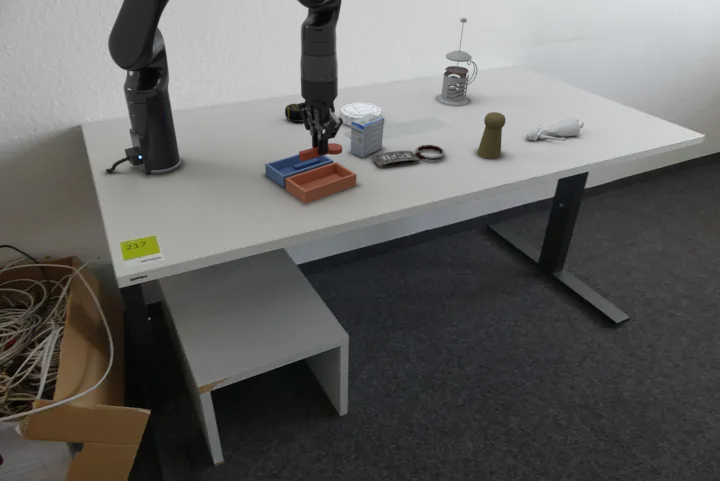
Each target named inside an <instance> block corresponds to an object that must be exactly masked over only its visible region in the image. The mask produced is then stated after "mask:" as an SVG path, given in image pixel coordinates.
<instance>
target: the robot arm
mask: <svg viewBox="0 0 720 481" xmlns="http://www.w3.org/2000/svg"><path fill="white" fill-rule="evenodd" d="M296 1H297V3H299V4H301V5H302V6H303V7H305V8H307V16H306V17H305V19H304V20H303V22H302V23H301V24H300V25H301V26H300V62H299V63H300V64H299V66H300V69H299V71H300V95H301V98H302V99H304V101H303V102H299V103H297V104H298V108H299V111H300V114H301V117H302V119H303V121H302V123H303V125H304V128H305V130H306V131H309V134H310V136H311V148H314V147H318V154H319V155H320V156H322V155H325V154H327V153H328V144H329V140H331V139H335V138H336V137H337V135H338V132H339V131H340V129H341V126H342V124H344V123H343V120H342V118H340V117H337V115H336V114H335V112H336V108H335V104H334V102H335V100H336V99H337V97H339V64H338V63H339V62H338V51H337V50H338V38H337V37H338V34H337V33H338V32H337V30H338V28H337V27H338V23H339V20H340V13H341V9H342V8H341V6H342V1H343V0H296ZM168 3H170V0H123V1H122V4H121V7H120V9H119V11H118V14H117V16H116V18H115V21H114V23H113V26H112V28H111V30H110V33H109V36H108V40H107V47H108V53H109V54H110V57H111V59H112V61H113V62H114V64H115V65H116V66H117V67H119V68H120V69H122V70H124V71H126V77H125V80H124V83H123V93H124V100H125V103H126V107H127V108H126V109H127V113H128V117H129V122H130V126H131V128H129V135H130V141H131V144H132V147H128V148H124V153H125V157H123V158H122V159H119V160H117V161H115V162H114V163H113V164H112V166H111V168H106V169H105V172H106V173H112V172H114V171H115V170H116V168H117V167H118V166H119V165H120V164H123V163H125V162H129V163H130V164H131V165H132V166H133V167H137V168H138V169H139V170H140V172H142V173H143V174H144V175H145V176H150V175H165V174H169V173H172V172H175V171H176V170H178V169H179V168H180V167H181V165H182V162H181V157H180V152H179V146H178V141H177V135H176V129H175V122H174V116H173V111H172V110H173V109H172V105H171V98H170V93H169V92H170V91H169V83H170V71H169V63H168V56H167V47H166V43H165V39H164V35H163V33H162V32H161V30H160V28H159V23H160V21H161V18H162V15H163V14H164V13H163V12H164V11H165V9H166V7H167V5H168ZM306 112H307V113H306ZM307 118H308V120H307ZM327 155H328V154H327ZM325 156H326V155H325Z"/></svg>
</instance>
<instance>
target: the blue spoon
mask: <svg viewBox="0 0 720 481" xmlns="http://www.w3.org/2000/svg"><path fill="white" fill-rule="evenodd" d="M316 164H320V160H319V159H318V158H314V159H311V160H308V161H305V162H302V163H299V164H296V165H293V168H291V167H286V168H282V169H281V170H280V173H282V174H283V175H285V174H288V173H291V172H295V171H298V170H301V169H304V168H307V167H310V166H313V165H316Z"/></svg>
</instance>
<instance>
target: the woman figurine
mask: <svg viewBox="0 0 720 481" xmlns="http://www.w3.org/2000/svg"><path fill="white" fill-rule="evenodd" d="M584 124H585V123H584V122H583V121H581V124H580V123H579V119H578V118H577V119H575V118H573V117H568V118H566V119H564V120H563V119H562V120H561V121H559V122H556V123H554V124H553V125H551V126H548V127H547V128H544V127H541V125H542V123H541V122H540V123H538V126H537V128H536V130H533V131H532V130H530V131H529V132H527V133H526V135H525V137H526V140H528V141H531V142H534V141H537V140H538V139H541V140H543V139H549V140H558V141H561V142H562V141H563V142H565V141H566V138H565V137H575V136H578V135H579V134H580V132H581V129H584Z"/></svg>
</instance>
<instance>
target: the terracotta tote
mask: <svg viewBox="0 0 720 481" xmlns="http://www.w3.org/2000/svg"><path fill="white" fill-rule="evenodd" d="M356 186H357V173H355V172H353V171H352V170H350V169H349V168H347V167H345V166H344V165H342V164H340V163H339V162H337V161H334V162H333V163H331V164H328V165H325V166H322V167H319V168H316V169H313V170H310V171H307V172H304V173H301V174H297V175H294V176H291V177H288V178H286V188H285V190H286V191H287V192H288V193H289V194H291V195H292V196H293V197H295V198H296V199H298V200H299V201H300V202H302V203H303V204H304V205H307V204H309V203H311V202H312V203H313V202H315V201H318V200H320V199H323V198H326V197H328V196H332V195H334V194H337V193H340V192H342V191H343V192H344V191H345V190H348V189H351V188H353V187H356Z"/></svg>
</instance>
